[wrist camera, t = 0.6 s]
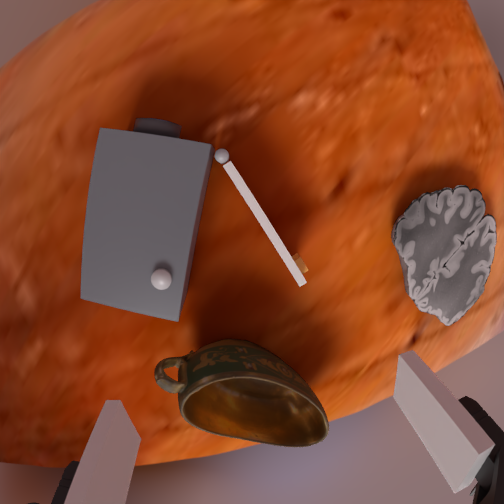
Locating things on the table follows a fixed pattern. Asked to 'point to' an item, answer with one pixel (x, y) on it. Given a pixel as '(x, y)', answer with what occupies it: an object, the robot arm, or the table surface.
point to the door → (263, 219)
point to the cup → (245, 395)
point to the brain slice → (445, 250)
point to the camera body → (143, 217)
